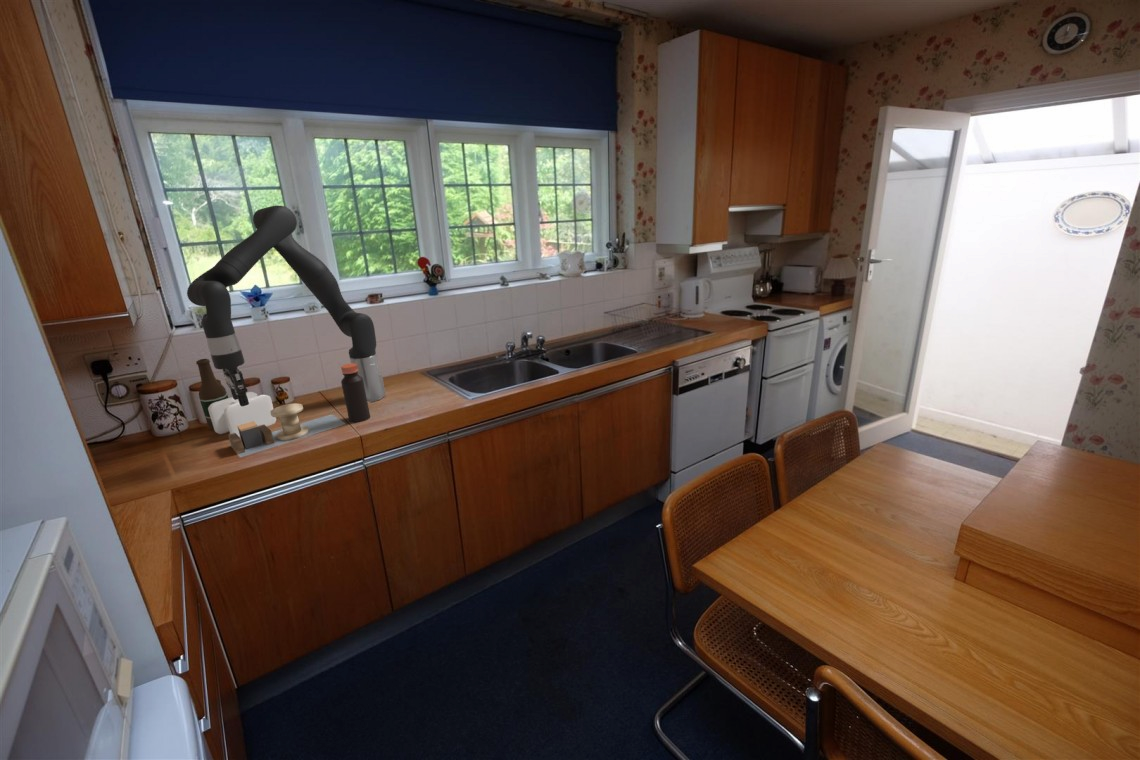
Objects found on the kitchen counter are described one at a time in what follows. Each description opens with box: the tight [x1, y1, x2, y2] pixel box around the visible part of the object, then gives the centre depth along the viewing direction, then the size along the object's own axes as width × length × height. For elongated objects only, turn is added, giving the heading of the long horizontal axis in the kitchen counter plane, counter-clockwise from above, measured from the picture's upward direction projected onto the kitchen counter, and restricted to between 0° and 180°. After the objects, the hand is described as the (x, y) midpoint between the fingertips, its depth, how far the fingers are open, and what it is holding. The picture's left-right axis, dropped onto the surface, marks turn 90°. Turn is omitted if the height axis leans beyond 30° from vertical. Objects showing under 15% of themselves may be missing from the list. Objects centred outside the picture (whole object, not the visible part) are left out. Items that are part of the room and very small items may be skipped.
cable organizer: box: [208, 391, 277, 438], centre depth 165 cm, size 15×11×12 cm
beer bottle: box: [195, 358, 229, 431], centre depth 168 cm, size 8×8×24 cm
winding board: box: [236, 414, 347, 459], centre depth 160 cm, size 31×13×1 cm, turn 134°
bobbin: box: [270, 403, 309, 441], centre depth 158 cm, size 9×9×9 cm
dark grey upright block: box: [237, 421, 263, 449], centre depth 152 cm, size 4×4×7 cm
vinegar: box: [340, 362, 371, 424], centre depth 167 cm, size 7×7×20 cm
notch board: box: [227, 425, 274, 455], centre depth 153 cm, size 10×8×4 cm
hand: (241, 402), depth 149 cm, fingers open, 8 cm apart
